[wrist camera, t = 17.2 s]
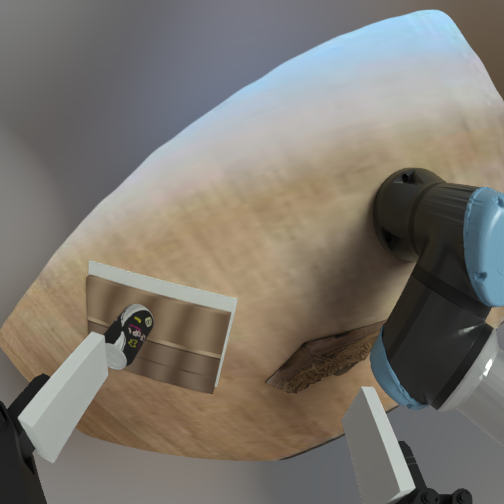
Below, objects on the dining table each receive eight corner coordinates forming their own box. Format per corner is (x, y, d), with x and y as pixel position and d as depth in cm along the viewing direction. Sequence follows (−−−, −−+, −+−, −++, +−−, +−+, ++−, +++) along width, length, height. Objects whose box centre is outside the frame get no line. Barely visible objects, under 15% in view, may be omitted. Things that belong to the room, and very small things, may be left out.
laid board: (221, 355, 48) (220, 360, 47) (213, 389, 51) (212, 394, 49) (91, 317, 47) (87, 321, 46) (94, 353, 50) (90, 357, 48)
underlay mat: (237, 298, 45) (237, 299, 45) (217, 385, 51) (216, 386, 51) (89, 259, 44) (88, 260, 44) (92, 348, 50) (91, 349, 49)
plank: (231, 312, 46) (230, 316, 44) (221, 354, 48) (220, 359, 47) (90, 274, 44) (86, 277, 43) (91, 316, 47) (87, 320, 46)
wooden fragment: (278, 398, 52) (278, 402, 51) (252, 362, 49) (252, 366, 48) (395, 344, 48) (397, 347, 47) (382, 301, 46) (384, 304, 45)
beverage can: (130, 295, 44) (97, 333, 32) (160, 312, 45) (134, 355, 33) (121, 320, 45) (90, 359, 34) (149, 336, 46) (124, 379, 35)
